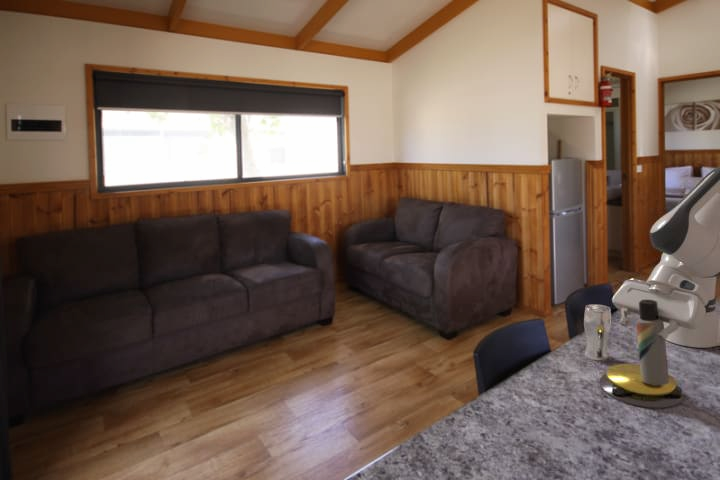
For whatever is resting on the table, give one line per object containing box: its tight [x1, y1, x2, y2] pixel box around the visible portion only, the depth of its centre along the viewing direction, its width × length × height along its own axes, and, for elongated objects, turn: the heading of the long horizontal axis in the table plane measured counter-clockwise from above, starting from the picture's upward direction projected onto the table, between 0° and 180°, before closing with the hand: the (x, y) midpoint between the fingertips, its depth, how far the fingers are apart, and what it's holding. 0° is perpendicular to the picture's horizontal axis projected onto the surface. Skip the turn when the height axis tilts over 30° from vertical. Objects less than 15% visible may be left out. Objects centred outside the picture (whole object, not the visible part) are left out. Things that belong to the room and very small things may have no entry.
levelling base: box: [599, 363, 684, 410], centre depth 117 cm, size 18×18×3 cm
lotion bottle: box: [635, 300, 669, 385], centre depth 113 cm, size 6×6×20 cm
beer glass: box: [583, 304, 612, 361], centre depth 135 cm, size 7×7×15 cm
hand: (641, 330), depth 114 cm, fingers open, 8 cm apart
